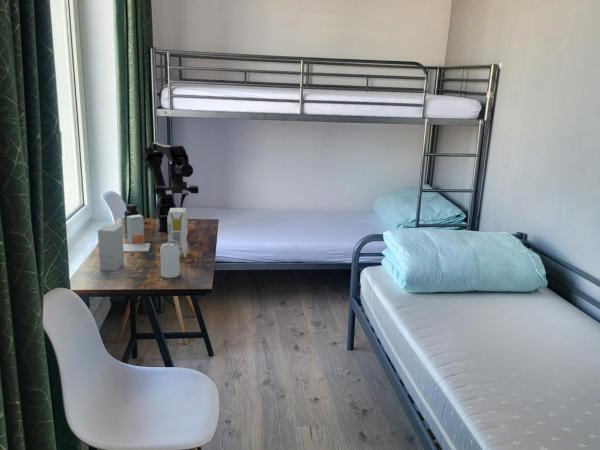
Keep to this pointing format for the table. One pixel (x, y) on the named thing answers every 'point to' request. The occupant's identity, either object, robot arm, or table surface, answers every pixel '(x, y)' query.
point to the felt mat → (136, 247)
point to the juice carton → (178, 229)
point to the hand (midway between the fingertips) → (177, 208)
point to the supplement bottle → (130, 212)
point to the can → (170, 259)
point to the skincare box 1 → (110, 247)
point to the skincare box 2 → (135, 229)
